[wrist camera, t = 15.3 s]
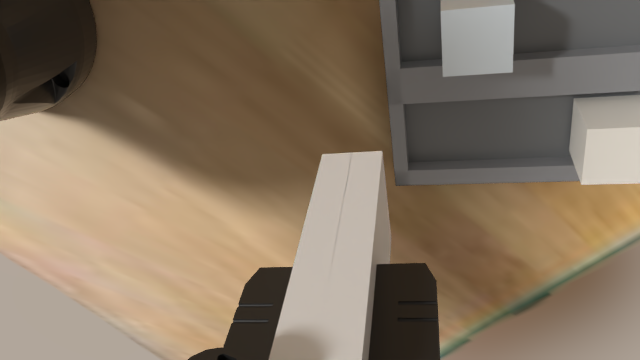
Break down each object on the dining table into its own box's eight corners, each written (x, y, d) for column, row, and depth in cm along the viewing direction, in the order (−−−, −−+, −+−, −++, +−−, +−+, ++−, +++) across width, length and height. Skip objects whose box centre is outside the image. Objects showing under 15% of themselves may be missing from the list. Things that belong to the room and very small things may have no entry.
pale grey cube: (442, 50, 39) (442, 76, 35) (440, -11, 37) (440, 10, 33) (505, 45, 38) (512, 72, 34) (507, -17, 36) (514, 4, 32)
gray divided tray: (398, 166, 46) (395, 186, 44) (380, -44, 38) (375, -34, 36) (678, 157, 42) (692, 178, 40) (728, -83, 33) (749, -74, 31)
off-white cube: (568, 150, 41) (581, 184, 37) (573, 98, 39) (587, 129, 35) (631, 148, 40) (650, 183, 37) (639, 94, 38) (660, 126, 34)
